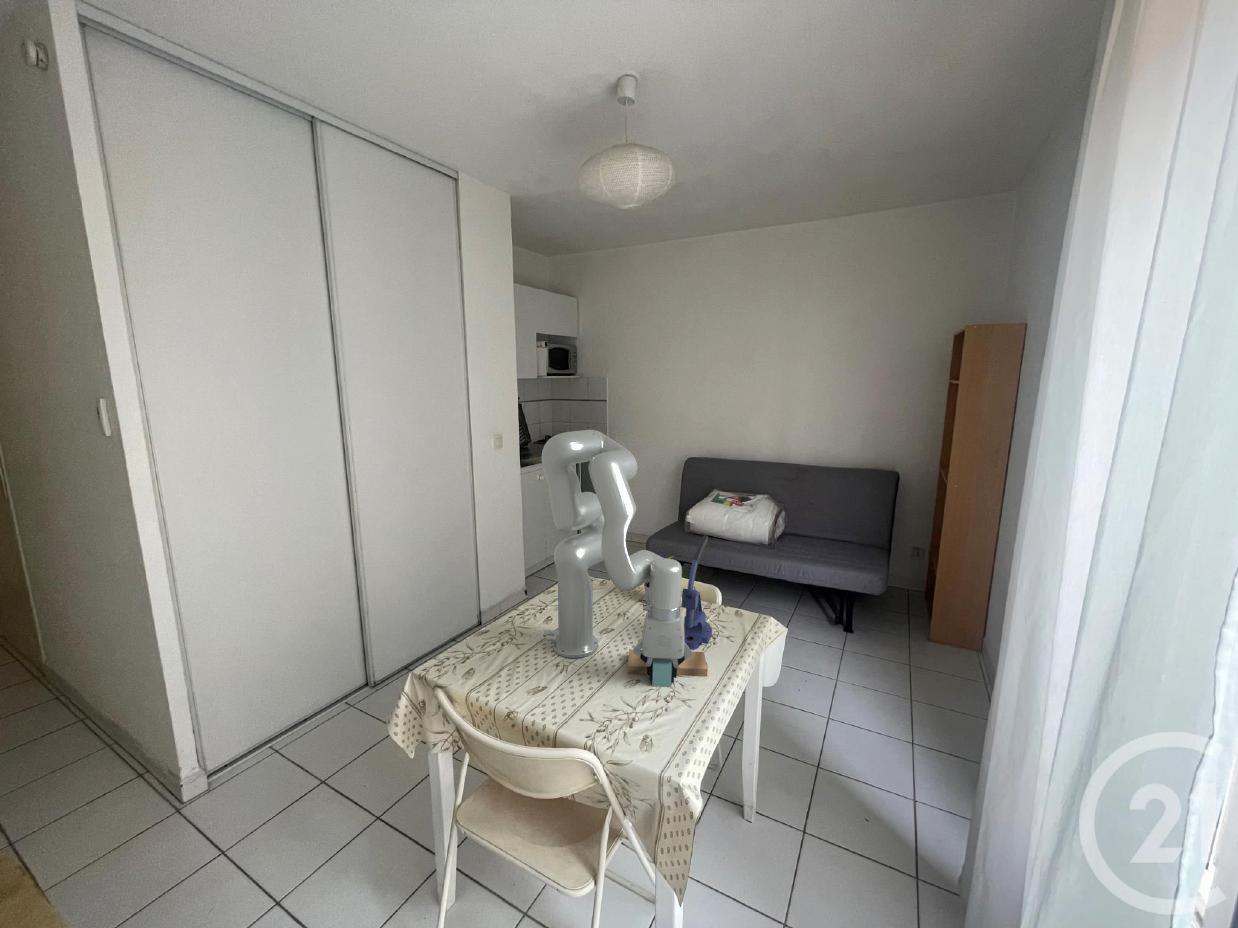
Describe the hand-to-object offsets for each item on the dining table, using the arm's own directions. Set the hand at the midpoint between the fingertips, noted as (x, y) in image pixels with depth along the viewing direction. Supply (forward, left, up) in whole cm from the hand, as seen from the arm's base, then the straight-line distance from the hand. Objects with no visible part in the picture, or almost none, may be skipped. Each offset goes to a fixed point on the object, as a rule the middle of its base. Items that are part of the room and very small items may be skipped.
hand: (661, 678), depth 123 cm
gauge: (0, +3, -1) cm, 3 cm away
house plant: (0, +46, -1) cm, 46 cm away
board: (+2, +7, -1) cm, 7 cm away
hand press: (+11, +23, -1) cm, 25 cm away
